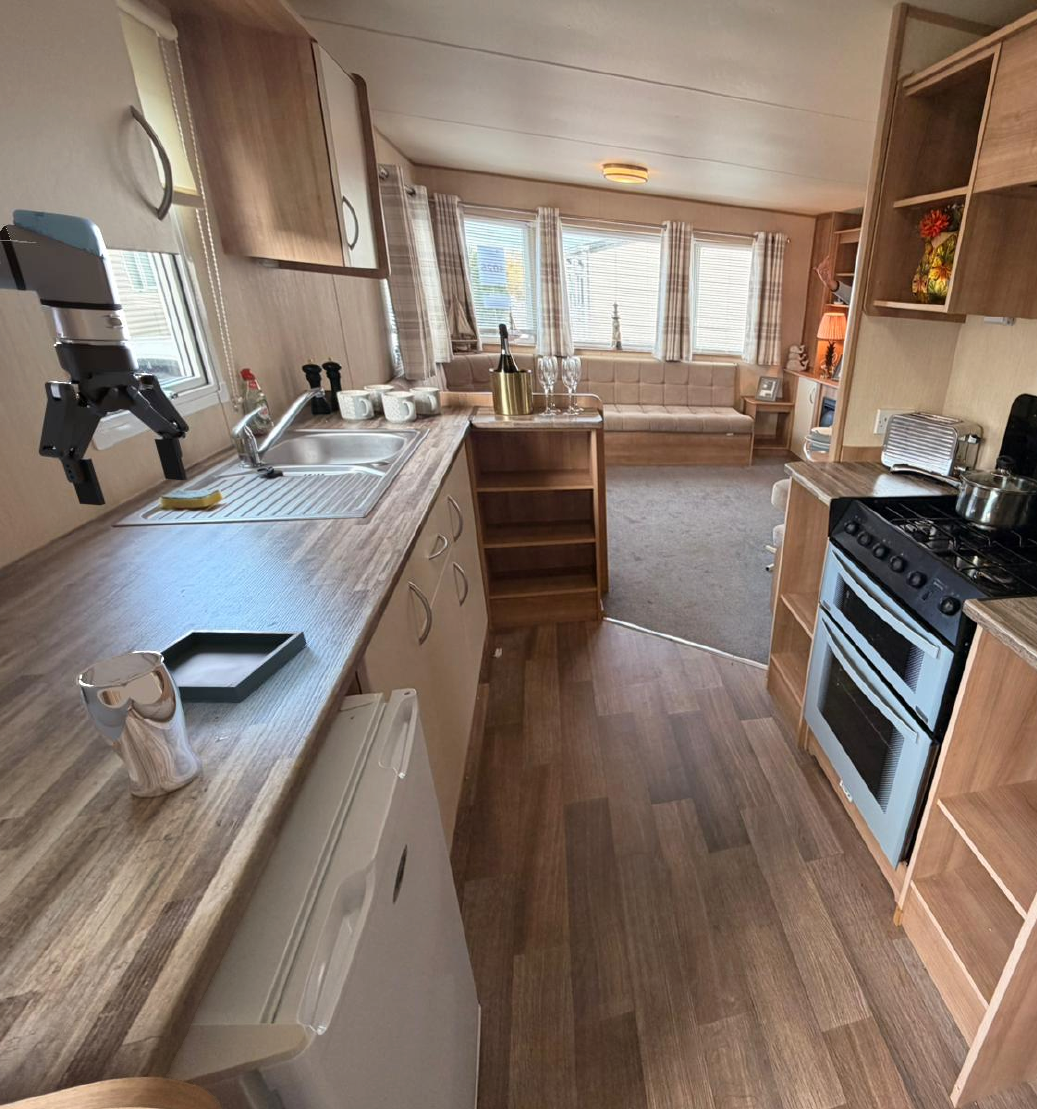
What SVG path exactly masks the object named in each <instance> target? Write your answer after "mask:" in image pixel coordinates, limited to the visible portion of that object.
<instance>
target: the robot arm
mask: <svg viewBox="0 0 1037 1109" xmlns="http://www.w3.org/2000/svg"><path fill="white" fill-rule="evenodd" d="M12 218H13V220H12V221H13V222H12V224H9V223H7V224H8V225H6V226H4V227H3V228H2V230H1V231H0V240H10V239H11V240H18V241H27V242H36V243H19V242H13V241H0V290H12V291H13V290H15V291H23V292H27V291H28V292H36V293H37V296H38V297H39V303H40V305H41V308H42V311H43V314H44V318H45V321H46V324H47V328H48V331H49V334H50V336H51V337H52V338H54V339H57V340H58V341H56V342H55V343H54V344H53V347H54V349H55V353H56V356H57V359H58V362H59V366H60V368H61V369H62V370H64V371H65V372H66V373H68V376H69V377H70V381H69V382H58V381H46V382H45V383H44V389H45V394H46V399H47V401H46V406H45V412H44V417H43V424H42V428H41V429H42V430H41V435H40V441H39V447H38V454H39V455H40V456H41V457H43V458H44V457H45V458H52V459H57V460H59V461H60V463H61V465H62V468H63V471H64V474H65V477H66V480H67V481H68V482H69V483H70V484H73V488H74V491H75V494H76V497H77V500H78V503H79V505H88V506H89V505H92V506H104V505H106V500H105V497H104V493H103V491H102V488H101V485H100V481H99V478H98V476H97V472H96V468H95V466H94V463H93V459H92V457H91V458H90V457H85V455H86V452H87V450H88V448H89V446H90V444H91V441H92V440H93V437H94V435H95V433H96V431H97V428H98V426H99V424H100V422H101V419H103V418H105V417H107V415H108V414H109V413H116V412H119V411H121V410H122V411H128V412H130V413H131V414H132V415H134V417H136V418H137V419H138V420H139V421H141V422H142V423H143V424H145V426H147V427H148V428H149V429H150V430H151V431H153V432H154V433H155V434H156V435H158V436H159V437H156V438H154V443H155V446H156V451H157V453H158V457H159V461H160V464H161V468H162V472H163V475H164V479H165V480H171V481H173V480H174V481H186V480H188V478H187V474H186V469H185V466H184V462H183V459H182V458H183V457H184V456H183V455H184V454H183V450H182V445H181V442H180V439H186V437H187V434H186V433H188V432H189V431H190V426H189V424H188V423H187V422H186V420H185V419H184V418H183V416H182V415H181V414H180V413H179V411H178V410H177V408H176V407H175V406H174V404H173V402H171V400H170V399H169V398H168V396H167V395H166V393H165V392H164V390H163V389H162V387H161V384H160V382H159V379H158V377H157V375H156V374H150V373H139V372H138V371H139V369H140V368H139V362H138V360H137V356H136V352H135V347H133V346H132V345H131V344H130V343H126V341H129V340H130V339H131V335H130V332H129V329H128V325H127V322H126V317H125V313H124V311H123V306H122V301H121V299H120V298H121V297H120V293H119V289H118V286H117V281H116V278H115V274H114V270H113V267H112V263H111V257H110V256H109V253H108V251H107V247H106V244H105V241H104V239H103V236H102V233H101V230H100V228H99V226H98V225H96V224H95V223H94V222H93V221H92V220H90V219H87V218H84V217H81V216H75V215H70V214H69V215H68V214H62V213H55V212H46V211H37V210H31V209H18V208H17V209H15V210H14V211H13V212H12ZM13 224H14V225H13ZM6 228H7V229H6ZM7 230H8V231H7ZM8 233H9V234H8ZM9 236H10V237H9Z"/></svg>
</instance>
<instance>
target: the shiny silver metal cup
mask: <svg viewBox="0 0 1037 1109" xmlns="http://www.w3.org/2000/svg"><path fill="white" fill-rule="evenodd" d="M75 684H76V686H77V688H78V691H79V696H80V699H81V701H82V704H83V707H84V710H85V712H86V714H87V716H88V718H89V720H90V722H91V723H92V725H93V727H94V729H95V730H96V732H97V733H98V734H99V735H100V737H101V738H102V739H103V740H104V742H105V743H106V744H107V745H108V747H110V748H111V750H113V751H114V753H115V755H117V756H118V757H119V759H120V760H121V761H122V763H123V765H124V766H125V768H126V771H127V776H128V783H129V788H130V792H131V793H132V794H133V795H134V796H135V797H138V798H153V797H154V798H155V797H160V796H163V795H166V794H170V793H172V792H175V791H177V790H179V789H181V788H183V787H185V786H186V785H188V784H190V783H191V782H192V781H193V780H195V779H196V778H197V777H198V776H199V775H200V774H201V772H202V771H203V768H204V763H203V760H202V759H201V757H200V756H199V755H198V754H197V753H196V751H195V750H194V749H193V747H192V745H191V744H190V742H189V738H188V734H187V728H186V717H185V708H184V702H182V698H181V694H180V692H179V689H178V686H177V684H176V681H175V679H174V677H173V675H172V673H171V671H170V670H169V668H168V666H167V664H166V663H165V661H164V659H163V656H162V655H161V654H160V653H157V651H150V650H143V651H133V652H126V653H122V654H119V655H115V656H112V657H109V658H106V659H103V660H101V661H97V662H96V663H93V664H91V665H90V666H88V667H86V668H85V669H83V670H82V671H80V672H79V673H78V675H76V677H75Z"/></svg>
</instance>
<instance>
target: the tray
mask: <svg viewBox="0 0 1037 1109" xmlns="http://www.w3.org/2000/svg"><path fill="white" fill-rule="evenodd" d="M306 644H307V645H306ZM305 645H306V646H305ZM304 646H305V647H304ZM307 646H308V643H307V639H306V636H305V633H304V631H303V630H245V629H244V630H243V629H240V630H239V629H191V630H189V631H187V632H185V633H184V634H182V635H181V636H180V637H178V638H177V639H175V640H173V641H171V642H170V643H168V644H167V645H165V646H163V647H162V648H160V649H159V650H157V651H156V652H157V653H160V654H161V655H162V656H163V659H164V661H165V663H166V664H167V666H168V668H169V670H170V671H171V673H172V675H173V677H174V679H175V681H176V684H177V686H178V689H179V692H180V694H181V698H182V703H214V704H215V703H226V704H228V703H231V704H232V703H233V704H234V703H236V704H238V703H242V702H243V701H244V700H245V699H246V698H247V697H249V696H250V695H251V694H252V693H254V691H256V690H257V689H258V688H259V687H261V685H263V684H264V683H265V682H266V681H268V680H269V679H270V678H271V677H272V676H273V675H274V674H276V673H277V672H278V671H280V669H281V668H282V667H284V666H285V665H286V664H287V663H289V661H291V660H292V659H293V658H294V657H295V656H297V655H298V654H299V653H300V652H301V651H302V650H303V649H305V648H306V647H307ZM303 647H304V648H303ZM302 648H303V649H302ZM301 649H302V650H301ZM300 650H301V651H300Z"/></svg>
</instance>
